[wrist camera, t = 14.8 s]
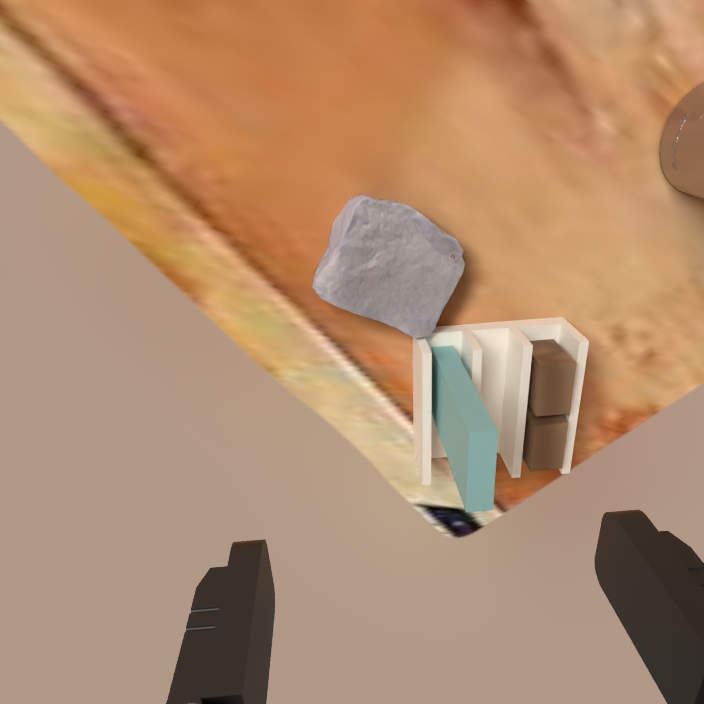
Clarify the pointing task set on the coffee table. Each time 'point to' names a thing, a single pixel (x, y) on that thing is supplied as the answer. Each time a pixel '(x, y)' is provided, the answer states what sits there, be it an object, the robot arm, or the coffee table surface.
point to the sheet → (464, 429)
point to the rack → (494, 382)
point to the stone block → (389, 265)
